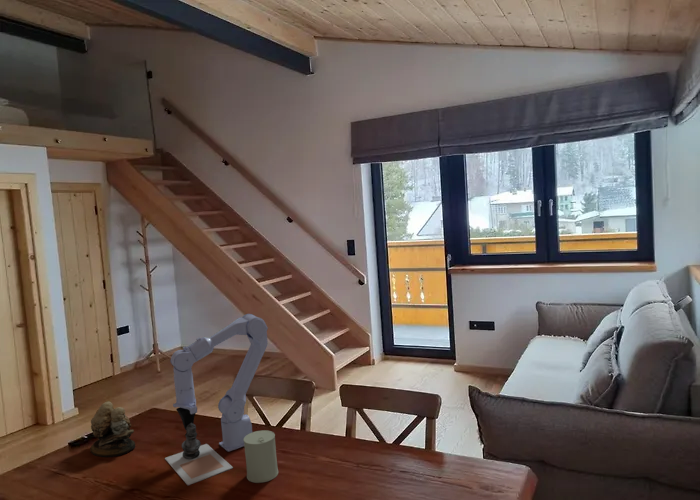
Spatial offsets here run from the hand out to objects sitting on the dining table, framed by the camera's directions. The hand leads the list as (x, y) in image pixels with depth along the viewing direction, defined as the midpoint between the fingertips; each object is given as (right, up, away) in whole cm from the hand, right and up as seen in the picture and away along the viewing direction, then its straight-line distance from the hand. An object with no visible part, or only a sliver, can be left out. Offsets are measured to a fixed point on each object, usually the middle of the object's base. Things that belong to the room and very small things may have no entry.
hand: (188, 429), depth 166 cm
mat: (+4, -10, -4) cm, 11 cm away
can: (+26, -9, -14) cm, 31 cm away
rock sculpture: (-29, -11, +12) cm, 33 cm away
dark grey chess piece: (0, -9, +1) cm, 9 cm away
